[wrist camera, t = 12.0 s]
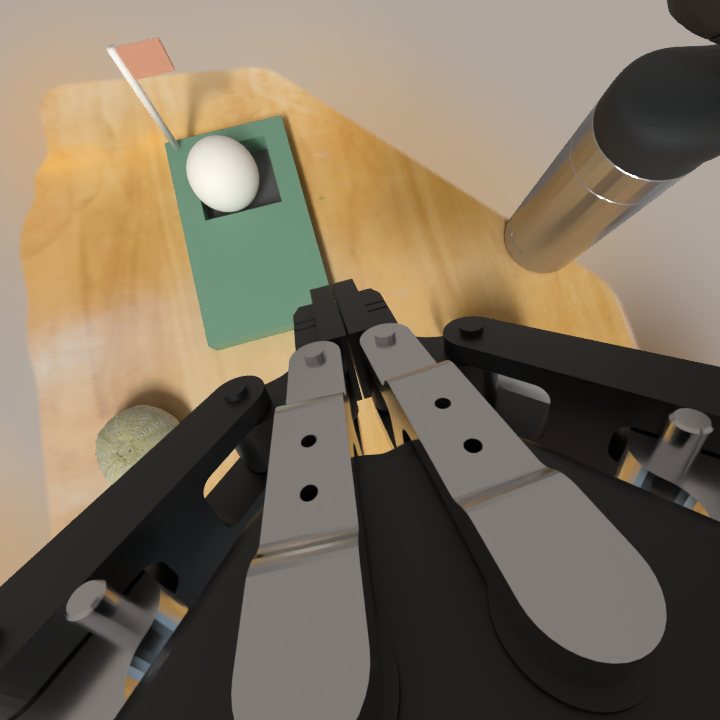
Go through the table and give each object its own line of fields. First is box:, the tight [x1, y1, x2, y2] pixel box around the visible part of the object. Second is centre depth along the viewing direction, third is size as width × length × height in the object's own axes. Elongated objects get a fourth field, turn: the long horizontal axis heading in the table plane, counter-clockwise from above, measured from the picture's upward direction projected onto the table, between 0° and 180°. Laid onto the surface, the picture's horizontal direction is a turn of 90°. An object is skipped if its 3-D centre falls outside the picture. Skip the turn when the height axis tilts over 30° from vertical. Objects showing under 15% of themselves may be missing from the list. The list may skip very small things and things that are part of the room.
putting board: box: [106, 38, 329, 350], centre depth 38 cm, size 15×27×14 cm, turn 16°
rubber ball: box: [186, 135, 259, 212], centre depth 42 cm, size 8×8×8 cm
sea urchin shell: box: [95, 405, 180, 485], centre depth 39 cm, size 9×8×8 cm
